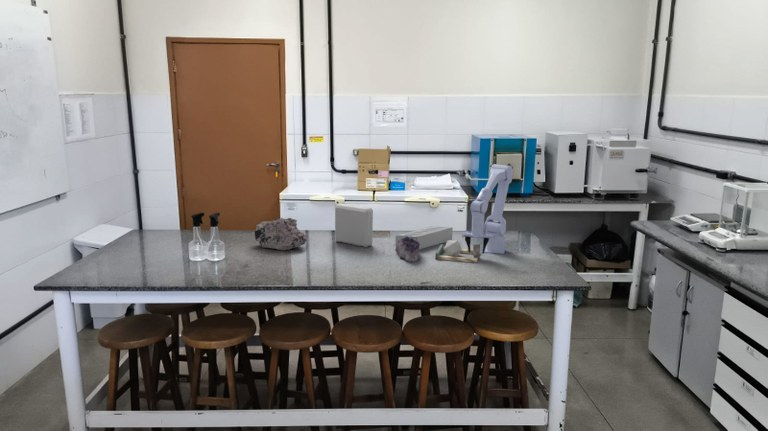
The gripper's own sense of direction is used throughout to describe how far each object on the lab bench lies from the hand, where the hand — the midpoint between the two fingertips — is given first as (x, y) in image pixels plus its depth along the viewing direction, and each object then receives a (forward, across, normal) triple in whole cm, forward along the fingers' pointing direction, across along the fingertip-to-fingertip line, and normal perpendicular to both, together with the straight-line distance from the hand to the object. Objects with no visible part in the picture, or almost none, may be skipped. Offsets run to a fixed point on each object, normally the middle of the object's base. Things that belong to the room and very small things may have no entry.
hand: (476, 252), depth 272 cm
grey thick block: (+3, -64, +8) cm, 65 cm away
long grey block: (+3, -29, +21) cm, 36 cm away
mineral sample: (+3, -98, -9) cm, 99 cm away
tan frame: (+3, -9, 0) cm, 9 cm away
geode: (+3, -32, -7) cm, 32 cm away
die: (+3, -12, 0) cm, 12 cm away
